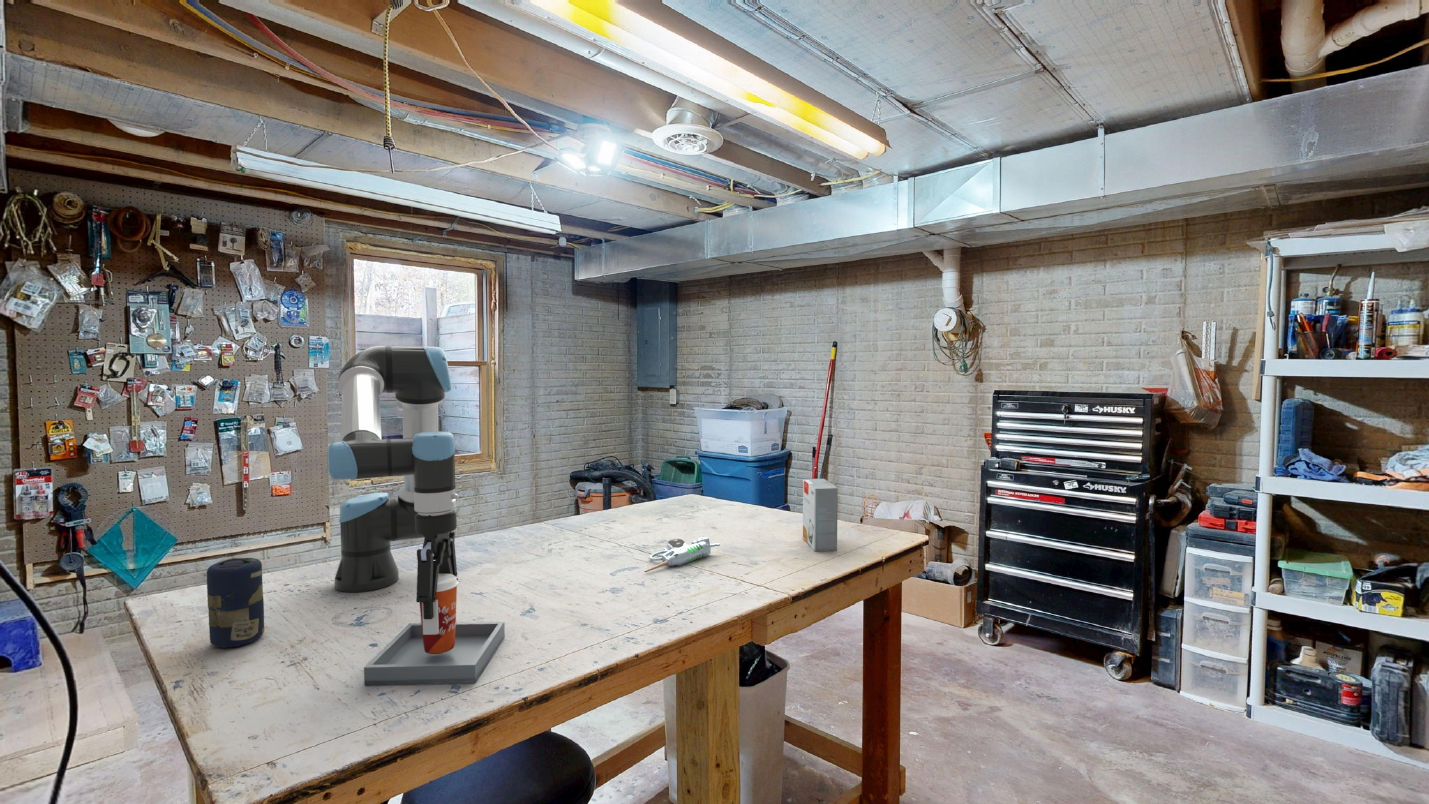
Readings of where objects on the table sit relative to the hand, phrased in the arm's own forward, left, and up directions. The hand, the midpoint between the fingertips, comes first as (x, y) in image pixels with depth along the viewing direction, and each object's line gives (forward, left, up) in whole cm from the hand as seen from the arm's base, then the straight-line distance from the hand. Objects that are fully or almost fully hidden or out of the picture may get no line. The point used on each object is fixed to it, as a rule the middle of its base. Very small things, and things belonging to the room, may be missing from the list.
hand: (439, 624), depth 131 cm
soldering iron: (-63, +44, -8) cm, 78 cm away
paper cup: (0, 0, -5) cm, 5 cm away
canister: (-11, -46, -7) cm, 48 cm away
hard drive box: (-77, +92, -7) cm, 120 cm away
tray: (0, 0, -7) cm, 7 cm away
